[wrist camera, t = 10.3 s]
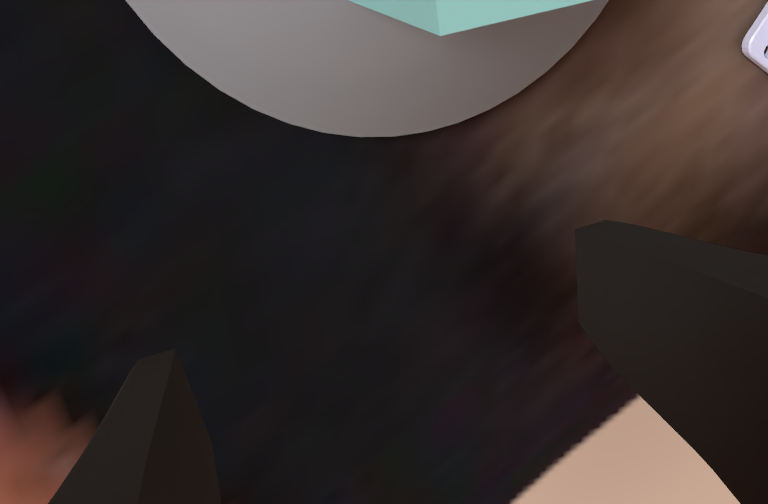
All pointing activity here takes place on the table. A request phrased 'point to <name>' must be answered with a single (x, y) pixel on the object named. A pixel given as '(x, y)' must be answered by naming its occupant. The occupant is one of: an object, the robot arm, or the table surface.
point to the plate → (360, 60)
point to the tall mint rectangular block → (460, 12)
